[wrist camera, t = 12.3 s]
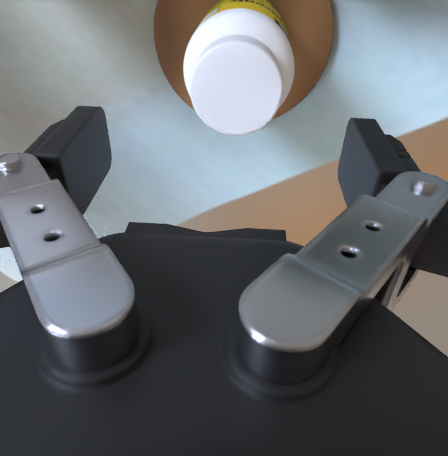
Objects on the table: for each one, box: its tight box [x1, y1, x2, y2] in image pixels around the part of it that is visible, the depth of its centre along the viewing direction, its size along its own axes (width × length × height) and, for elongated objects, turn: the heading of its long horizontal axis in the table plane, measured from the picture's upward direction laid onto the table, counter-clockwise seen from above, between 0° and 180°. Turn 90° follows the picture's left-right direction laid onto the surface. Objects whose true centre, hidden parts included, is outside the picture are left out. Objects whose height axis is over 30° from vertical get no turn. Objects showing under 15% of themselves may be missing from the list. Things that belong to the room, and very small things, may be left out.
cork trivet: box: [154, 0, 333, 119], centre depth 25 cm, size 11×11×1 cm
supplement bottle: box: [183, 0, 294, 135], centre depth 21 cm, size 5×5×10 cm
